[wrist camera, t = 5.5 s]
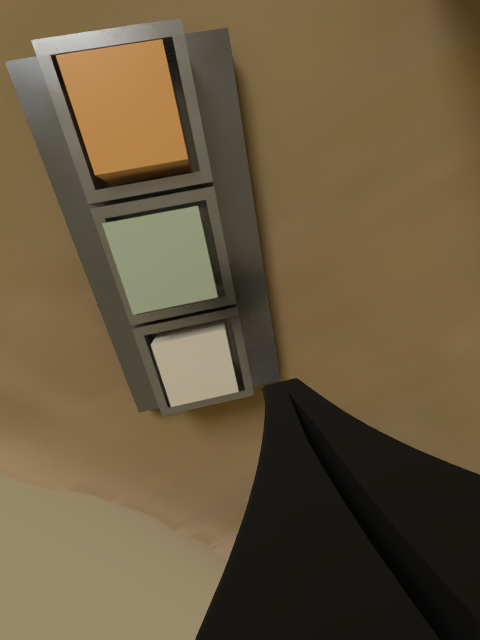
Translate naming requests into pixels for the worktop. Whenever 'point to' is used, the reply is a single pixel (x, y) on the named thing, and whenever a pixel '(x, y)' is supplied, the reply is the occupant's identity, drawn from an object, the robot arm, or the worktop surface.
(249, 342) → the panel
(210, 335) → the button cream
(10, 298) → the worktop surface
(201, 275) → the button sage
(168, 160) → the button orange
